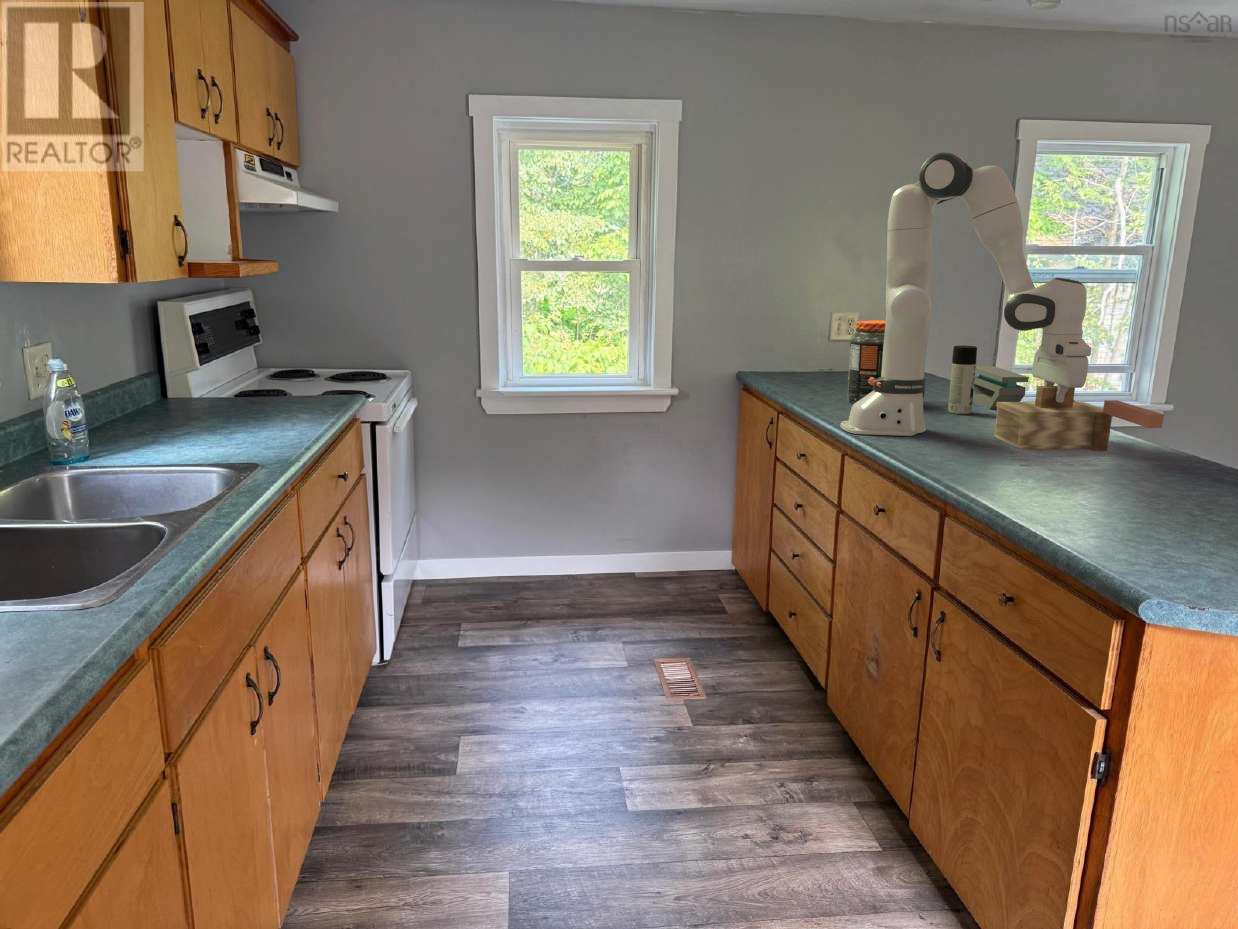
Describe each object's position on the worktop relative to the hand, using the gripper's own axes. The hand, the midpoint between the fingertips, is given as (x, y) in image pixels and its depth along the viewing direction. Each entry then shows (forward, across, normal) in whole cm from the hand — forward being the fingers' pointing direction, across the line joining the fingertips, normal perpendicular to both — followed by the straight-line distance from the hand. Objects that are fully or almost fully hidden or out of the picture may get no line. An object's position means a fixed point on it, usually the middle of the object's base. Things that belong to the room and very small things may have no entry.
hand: (1054, 400), depth 213 cm
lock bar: (+1, +20, +8) cm, 21 cm away
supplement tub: (+11, -60, -28) cm, 67 cm away
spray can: (+11, -41, -7) cm, 43 cm away
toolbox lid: (+4, 0, 0) cm, 4 cm away
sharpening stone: (+11, -53, +9) cm, 55 cm away
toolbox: (+11, 0, 0) cm, 11 cm away
